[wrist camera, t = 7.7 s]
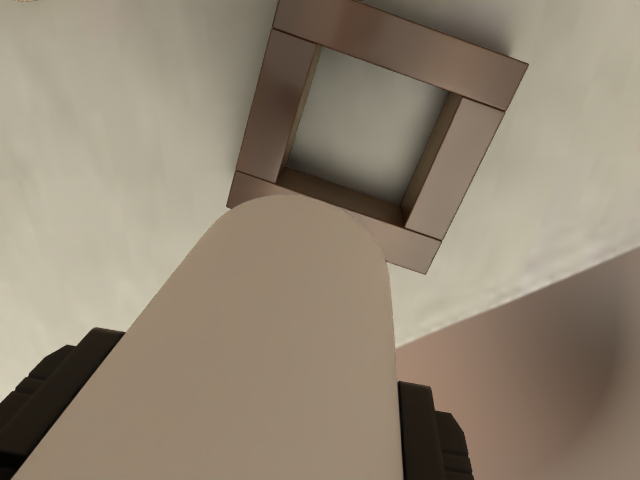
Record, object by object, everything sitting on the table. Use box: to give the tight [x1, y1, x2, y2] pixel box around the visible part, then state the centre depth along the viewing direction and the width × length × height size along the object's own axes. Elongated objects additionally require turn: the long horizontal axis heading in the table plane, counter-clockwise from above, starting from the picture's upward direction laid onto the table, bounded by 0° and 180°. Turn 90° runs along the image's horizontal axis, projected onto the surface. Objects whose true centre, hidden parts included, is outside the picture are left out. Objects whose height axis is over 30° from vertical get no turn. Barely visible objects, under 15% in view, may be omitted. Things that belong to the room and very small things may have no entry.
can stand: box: [226, 0, 529, 275], centre depth 26 cm, size 12×12×4 cm
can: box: [11, 195, 404, 480], centre depth 11 cm, size 6×6×12 cm
